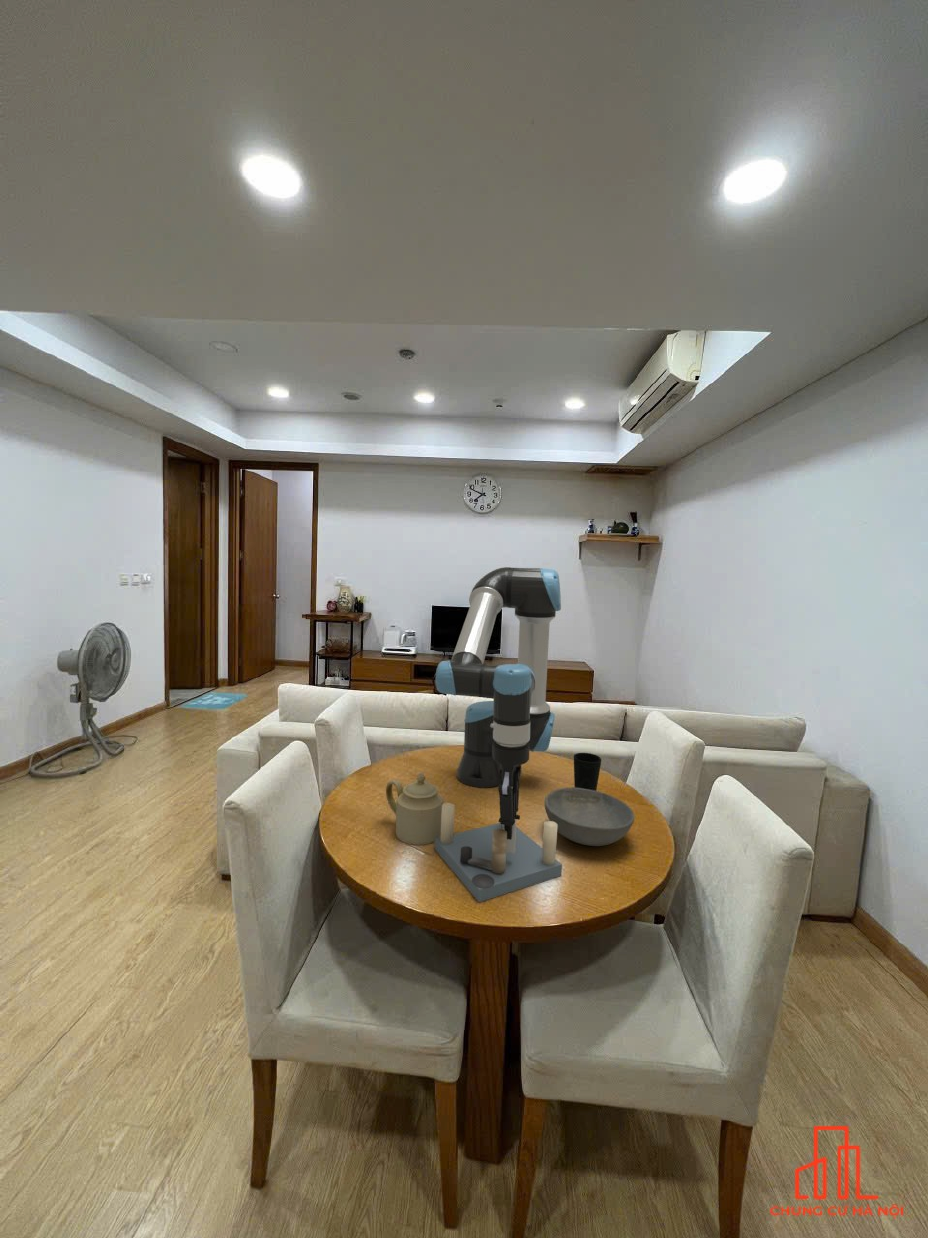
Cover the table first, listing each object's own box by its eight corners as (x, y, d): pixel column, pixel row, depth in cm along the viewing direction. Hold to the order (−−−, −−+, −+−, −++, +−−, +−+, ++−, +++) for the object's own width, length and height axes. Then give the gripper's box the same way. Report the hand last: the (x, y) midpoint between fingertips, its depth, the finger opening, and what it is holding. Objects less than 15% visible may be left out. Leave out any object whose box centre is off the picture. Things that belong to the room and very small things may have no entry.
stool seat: (433, 849, 111) (435, 803, 110) (508, 830, 120) (510, 788, 119) (478, 903, 93) (481, 849, 92) (561, 876, 103) (565, 827, 102)
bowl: (537, 813, 130) (539, 784, 129) (617, 817, 130) (619, 788, 129) (549, 859, 109) (551, 824, 108) (644, 864, 108) (646, 829, 108)
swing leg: (458, 862, 101) (459, 826, 100) (463, 855, 104) (464, 820, 103) (502, 874, 98) (504, 837, 97) (506, 867, 100) (508, 830, 99)
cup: (599, 806, 135) (602, 764, 134) (571, 802, 137) (573, 760, 136) (597, 794, 143) (600, 754, 142) (570, 791, 144) (573, 751, 143)
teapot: (373, 841, 113) (375, 778, 112) (386, 818, 124) (388, 760, 123) (437, 848, 112) (440, 784, 110) (445, 823, 122) (447, 765, 121)
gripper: (499, 729, 108) (497, 832, 110) (485, 749, 95) (484, 865, 98) (533, 733, 106) (531, 838, 108) (524, 754, 93) (521, 871, 96)
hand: (508, 850), depth 103 cm, fingers closed
